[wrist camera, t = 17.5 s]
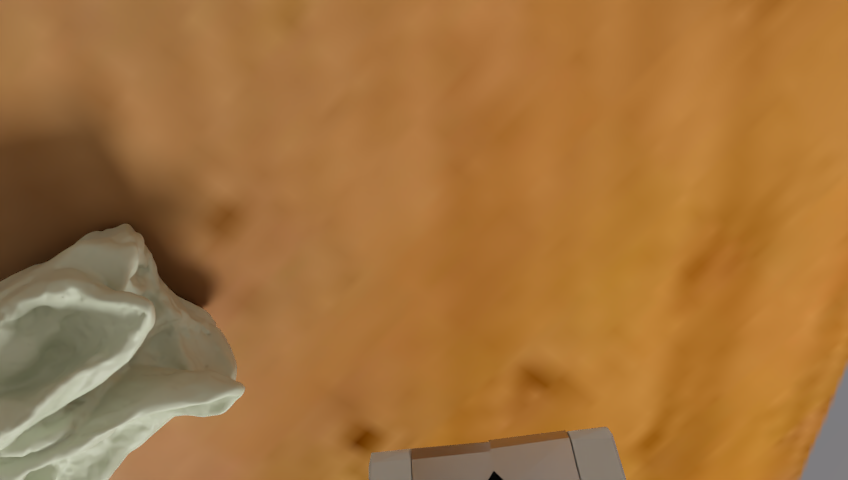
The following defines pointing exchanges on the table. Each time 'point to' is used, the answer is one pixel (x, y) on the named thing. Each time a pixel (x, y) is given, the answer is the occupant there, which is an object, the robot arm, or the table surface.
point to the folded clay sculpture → (101, 360)
